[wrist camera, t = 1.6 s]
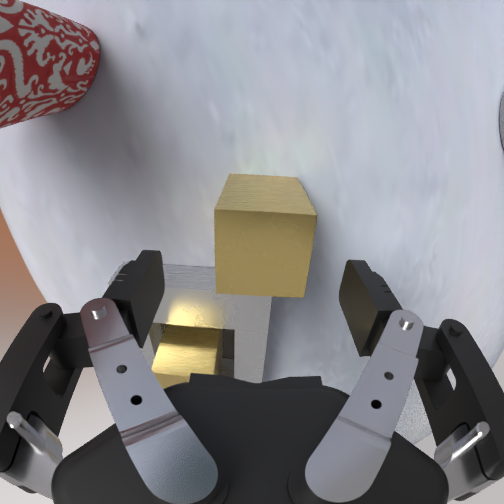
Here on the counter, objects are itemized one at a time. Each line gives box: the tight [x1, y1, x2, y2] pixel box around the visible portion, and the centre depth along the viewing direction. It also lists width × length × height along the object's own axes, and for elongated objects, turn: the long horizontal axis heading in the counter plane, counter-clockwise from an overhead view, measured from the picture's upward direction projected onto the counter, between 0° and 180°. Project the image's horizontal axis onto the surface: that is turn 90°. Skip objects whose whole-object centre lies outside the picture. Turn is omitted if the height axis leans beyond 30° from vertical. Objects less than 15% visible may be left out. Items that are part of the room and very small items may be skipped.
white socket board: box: [108, 262, 272, 383], centre depth 27 cm, size 28×12×3 cm, turn 177°
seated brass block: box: [151, 324, 223, 389], centre depth 22 cm, size 4×4×7 cm
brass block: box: [214, 174, 317, 298], centre depth 17 cm, size 4×4×7 cm
